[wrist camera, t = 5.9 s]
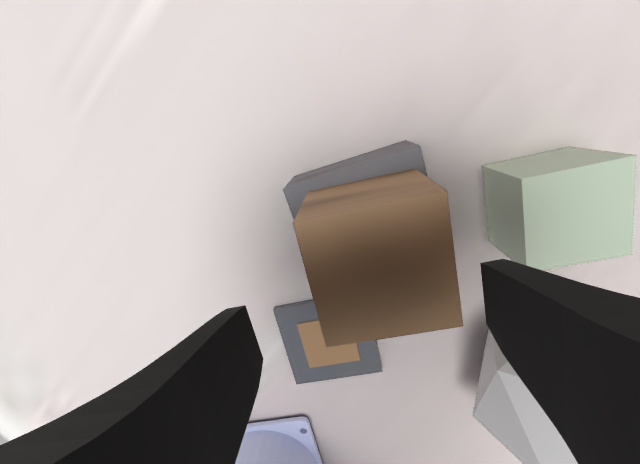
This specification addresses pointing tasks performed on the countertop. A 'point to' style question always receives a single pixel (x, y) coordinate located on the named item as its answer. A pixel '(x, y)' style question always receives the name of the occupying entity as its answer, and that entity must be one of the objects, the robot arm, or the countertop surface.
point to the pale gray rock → (515, 413)
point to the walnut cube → (380, 258)
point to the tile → (320, 347)
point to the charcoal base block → (355, 171)
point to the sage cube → (561, 206)
